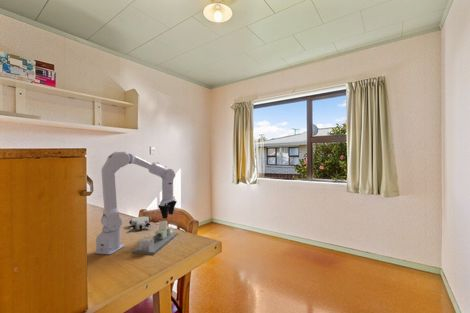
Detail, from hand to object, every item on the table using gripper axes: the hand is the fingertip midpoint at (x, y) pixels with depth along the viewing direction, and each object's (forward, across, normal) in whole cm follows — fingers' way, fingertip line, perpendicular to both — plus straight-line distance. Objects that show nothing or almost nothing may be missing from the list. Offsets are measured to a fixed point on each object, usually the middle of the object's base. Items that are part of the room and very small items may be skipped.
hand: (168, 216), depth 120 cm
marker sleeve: (+8, -8, 0) cm, 12 cm away
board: (+9, -12, 0) cm, 15 cm away
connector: (+8, -21, +1) cm, 23 cm away
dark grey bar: (+7, -12, 0) cm, 14 cm away
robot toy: (+10, +9, +21) cm, 25 cm away
